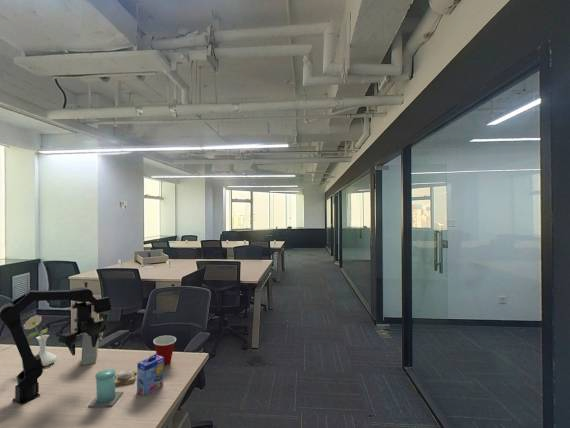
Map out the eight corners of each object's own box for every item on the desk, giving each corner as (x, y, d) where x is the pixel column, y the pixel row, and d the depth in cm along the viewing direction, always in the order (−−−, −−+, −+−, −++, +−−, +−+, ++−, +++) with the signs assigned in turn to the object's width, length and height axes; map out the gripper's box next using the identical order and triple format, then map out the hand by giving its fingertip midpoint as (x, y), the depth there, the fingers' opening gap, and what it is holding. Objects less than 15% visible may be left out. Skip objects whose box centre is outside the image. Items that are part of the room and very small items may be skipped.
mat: (88, 407, 118) (88, 405, 118) (100, 394, 127) (100, 392, 127) (112, 406, 119) (112, 404, 119) (123, 393, 128) (123, 391, 128)
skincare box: (83, 359, 159) (83, 328, 159) (99, 356, 162) (99, 326, 162) (80, 366, 151) (80, 333, 152) (97, 363, 154) (97, 331, 155)
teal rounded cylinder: (99, 405, 118) (98, 379, 118) (94, 398, 123) (93, 373, 123) (118, 397, 123) (117, 372, 123) (112, 391, 128) (112, 367, 128)
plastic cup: (163, 370, 147) (163, 345, 147) (148, 365, 152) (148, 341, 152) (181, 361, 156) (181, 337, 157) (166, 356, 162) (166, 333, 162)
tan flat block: (112, 386, 133) (112, 379, 133) (114, 377, 140) (114, 371, 140) (136, 382, 137) (136, 375, 137) (137, 373, 144) (137, 367, 144)
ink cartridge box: (144, 396, 126) (145, 360, 126) (136, 392, 128) (136, 357, 129) (164, 384, 135) (164, 351, 135) (156, 381, 137) (156, 348, 137)
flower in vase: (53, 357, 161) (53, 309, 162) (59, 363, 154) (60, 313, 154) (20, 366, 151) (21, 315, 152) (26, 374, 144) (26, 320, 144)
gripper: (75, 325, 127) (75, 363, 127) (115, 312, 144) (115, 345, 144) (57, 321, 131) (57, 358, 131) (98, 309, 148) (98, 342, 148)
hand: (83, 351), depth 138 cm, fingers open, 9 cm apart
